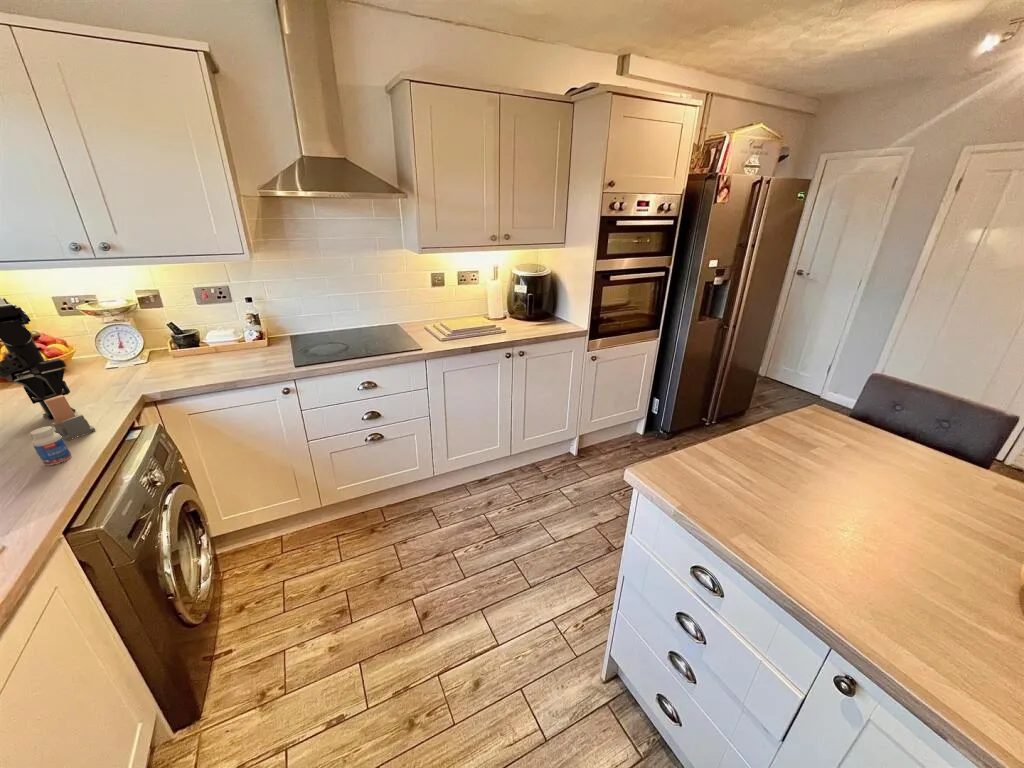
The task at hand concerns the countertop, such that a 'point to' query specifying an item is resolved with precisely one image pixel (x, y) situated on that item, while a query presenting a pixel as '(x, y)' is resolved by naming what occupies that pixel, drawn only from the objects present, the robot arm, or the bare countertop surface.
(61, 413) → the orange tall block
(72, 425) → the switch base
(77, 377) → the countertop surface
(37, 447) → the pill bottle
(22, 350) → the robot arm
